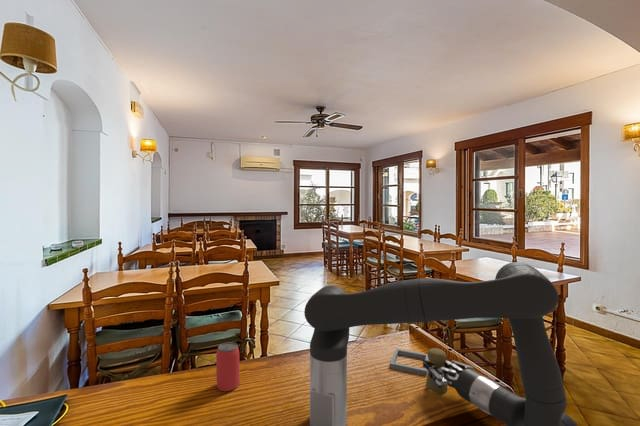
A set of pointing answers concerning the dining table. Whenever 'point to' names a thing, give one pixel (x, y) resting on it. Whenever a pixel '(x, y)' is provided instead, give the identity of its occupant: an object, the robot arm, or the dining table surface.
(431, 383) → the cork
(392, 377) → the dining table surface
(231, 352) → the beer can
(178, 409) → the dining table surface
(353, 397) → the dining table surface
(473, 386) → the robot arm
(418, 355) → the gray square frame
